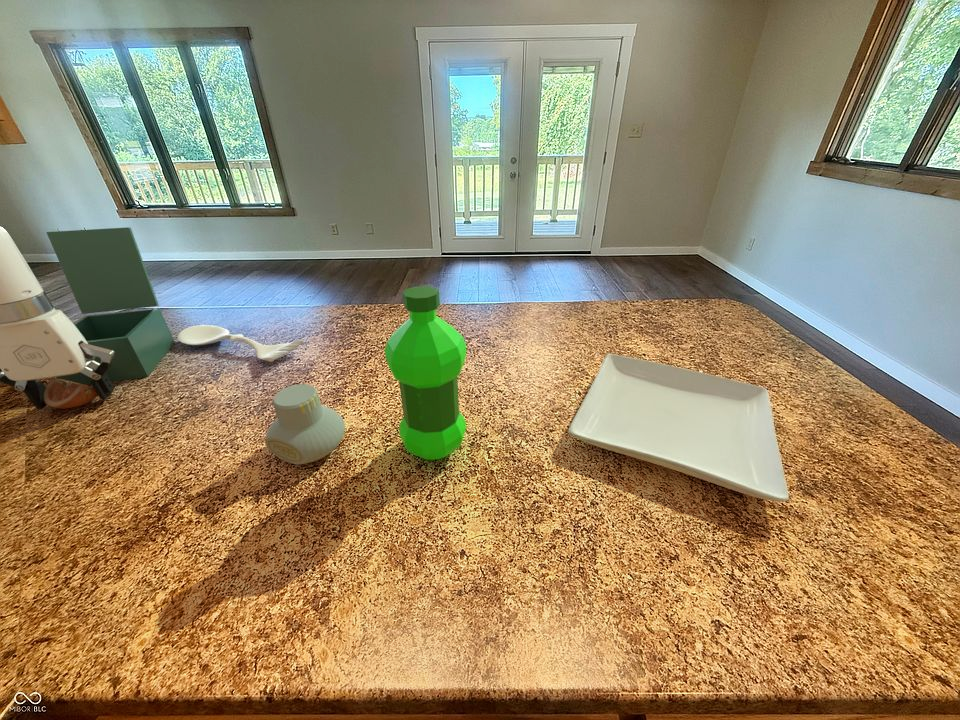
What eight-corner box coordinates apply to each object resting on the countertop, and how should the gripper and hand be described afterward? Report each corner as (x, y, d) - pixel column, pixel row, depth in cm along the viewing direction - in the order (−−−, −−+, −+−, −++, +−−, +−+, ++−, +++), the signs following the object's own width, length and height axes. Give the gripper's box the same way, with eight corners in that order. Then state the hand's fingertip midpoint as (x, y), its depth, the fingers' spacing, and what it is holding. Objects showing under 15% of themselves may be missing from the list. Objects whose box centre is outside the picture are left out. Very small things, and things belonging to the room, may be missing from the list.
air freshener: (357, 439, 60) (345, 387, 55) (320, 477, 53) (302, 421, 48) (303, 423, 63) (288, 372, 58) (262, 456, 57) (240, 402, 52)
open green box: (148, 376, 76) (127, 337, 72) (64, 389, 72) (36, 348, 68) (175, 342, 89) (159, 307, 84) (104, 351, 85) (84, 315, 81)
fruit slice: (117, 398, 70) (103, 375, 67) (73, 420, 64) (56, 397, 62) (87, 390, 72) (72, 368, 69) (42, 411, 66) (25, 387, 64)
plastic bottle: (424, 419, 64) (410, 274, 51) (480, 438, 60) (479, 286, 47) (386, 457, 56) (358, 298, 44) (446, 482, 52) (434, 314, 40)
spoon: (275, 372, 77) (271, 357, 75) (171, 345, 88) (165, 332, 86) (308, 352, 84) (304, 338, 83) (208, 329, 95) (203, 317, 93)
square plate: (604, 366, 78) (607, 350, 76) (761, 404, 67) (769, 386, 65) (564, 448, 58) (566, 428, 56) (780, 521, 47) (793, 500, 45)
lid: (128, 227, 78) (130, 227, 79) (45, 232, 74) (48, 231, 75) (157, 306, 84) (159, 305, 85) (81, 314, 80) (84, 313, 81)
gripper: (-81, 326, 53) (-1, 422, 62) (72, 310, 58) (126, 402, 67) (-38, 307, 60) (29, 397, 68) (97, 294, 64) (144, 380, 73)
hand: (77, 399), depth 67 cm, fingers closed on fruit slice, 8 cm apart
